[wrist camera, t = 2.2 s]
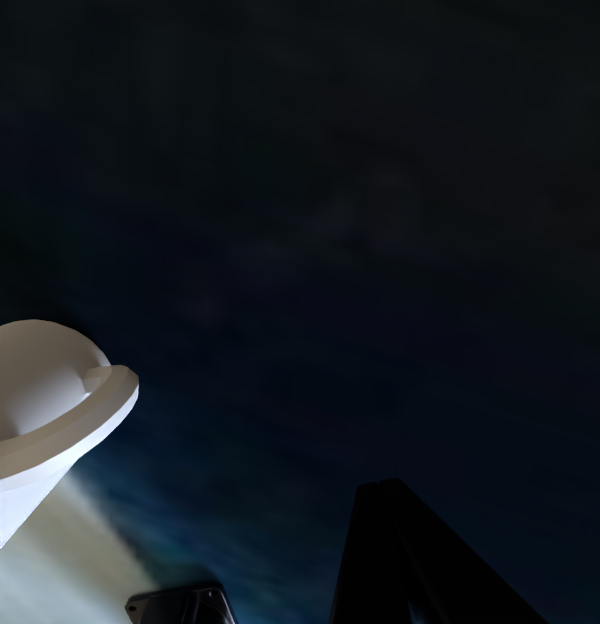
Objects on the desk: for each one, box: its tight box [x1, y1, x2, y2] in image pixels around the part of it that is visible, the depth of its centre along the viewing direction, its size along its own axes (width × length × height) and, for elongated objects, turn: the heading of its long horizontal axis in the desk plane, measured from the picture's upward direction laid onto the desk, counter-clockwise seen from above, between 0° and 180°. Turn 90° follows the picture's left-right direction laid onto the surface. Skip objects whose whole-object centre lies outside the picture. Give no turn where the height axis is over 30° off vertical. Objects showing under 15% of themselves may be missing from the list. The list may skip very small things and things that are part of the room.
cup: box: [0, 319, 139, 549], centre depth 14 cm, size 7×10×9 cm
